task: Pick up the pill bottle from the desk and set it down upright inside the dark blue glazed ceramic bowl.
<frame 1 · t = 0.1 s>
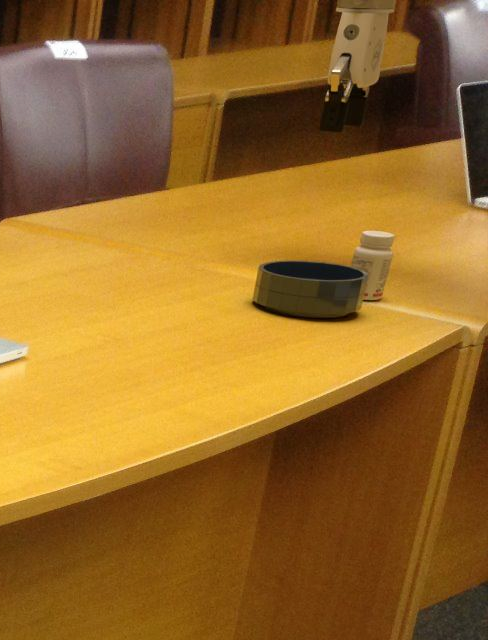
hand: (340, 128, 224), 19 cm above the table, tool pointing down, fingers open, 9 cm apart
bowl: (305, 308, 202), on the table
pill bottle: (361, 297, 209), on the table
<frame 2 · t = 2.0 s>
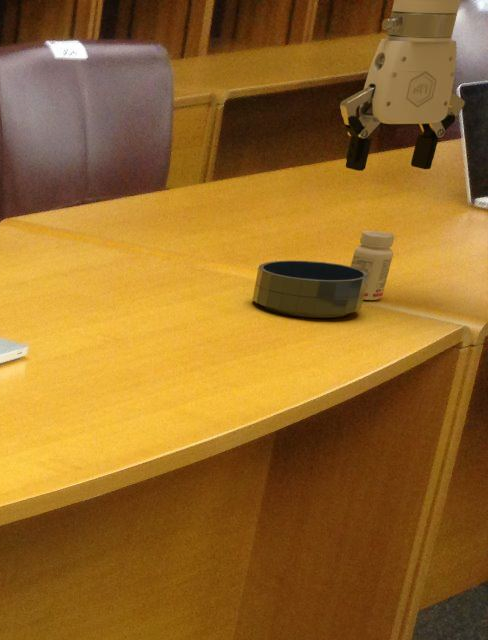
hand: (387, 168, 202), 17 cm above the table, tool pointing down, fingers open, 9 cm apart
nothing on the table moved.
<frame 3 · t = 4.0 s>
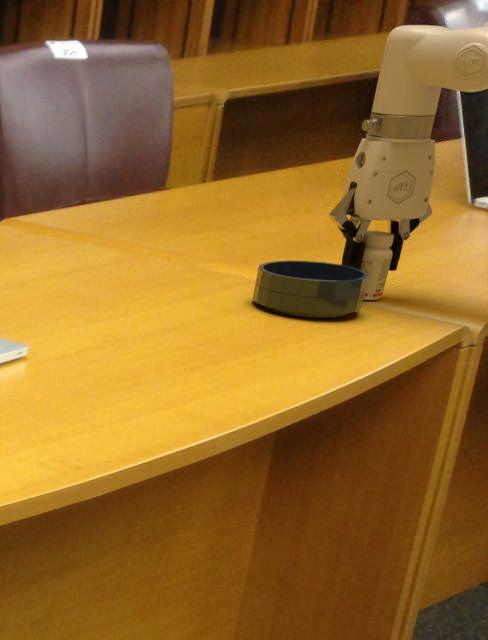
hand: (368, 268, 207), 4 cm above the table, tool pointing down, fingers closed on pill bottle, 4 cm apart
pill bottle: (361, 297, 209), on the table, touching gripper
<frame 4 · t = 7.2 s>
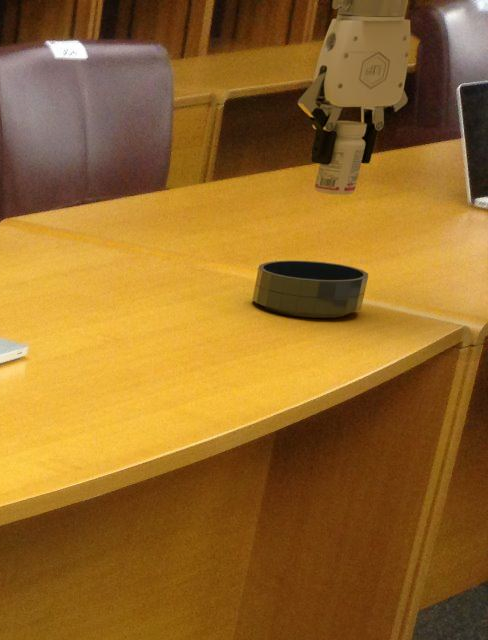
hand: (340, 161, 194), 19 cm above the table, tool pointing down, fingers closed on pill bottle, 4 cm apart
pill bottle: (333, 193, 196), point 15 cm above the table, touching gripper
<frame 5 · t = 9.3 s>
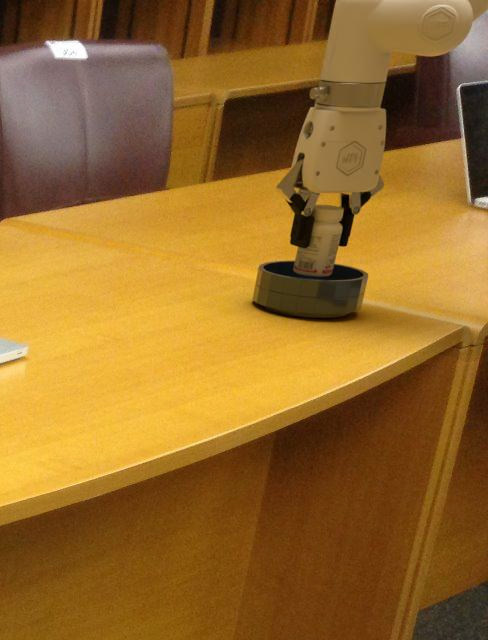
hand: (318, 243, 198), 8 cm above the table, tool pointing down, fingers closed on pill bottle, 4 cm apart
pill bottle: (311, 274, 200), point 4 cm above the table, touching gripper
when the fingers open (5 cm above the table, at t = 10.7 s): pill bottle stays where it is, resting on bowl.
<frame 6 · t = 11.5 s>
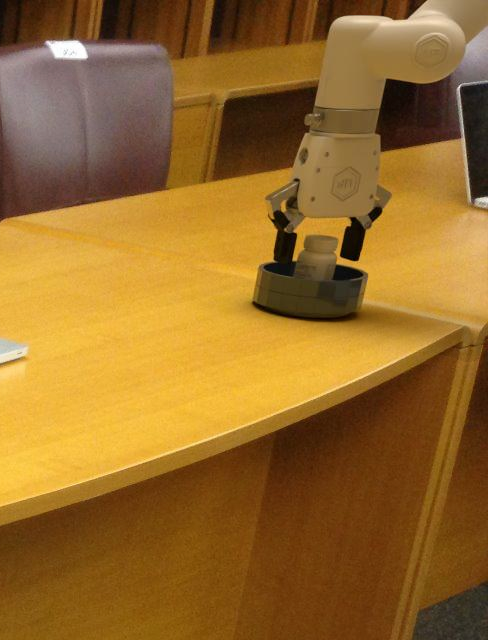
hand: (315, 260, 199), 6 cm above the table, tool pointing down, fingers open, 9 cm apart
pill bottle: (306, 303, 202), point 1 cm above the table, touching bowl
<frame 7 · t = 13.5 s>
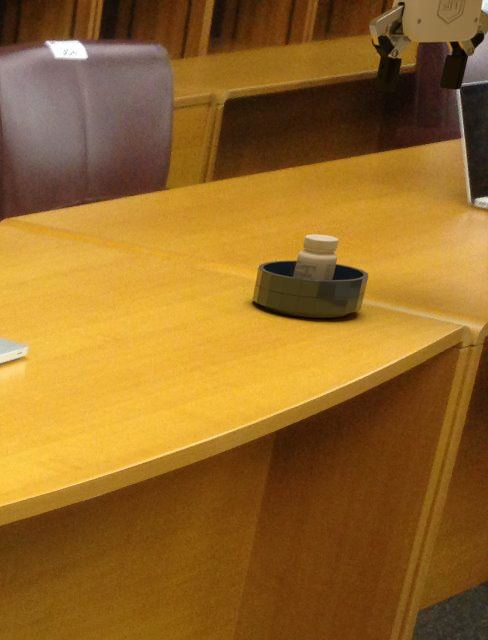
hand: (417, 89, 198), 26 cm above the table, tool pointing down, fingers open, 9 cm apart
nothing on the table moved.
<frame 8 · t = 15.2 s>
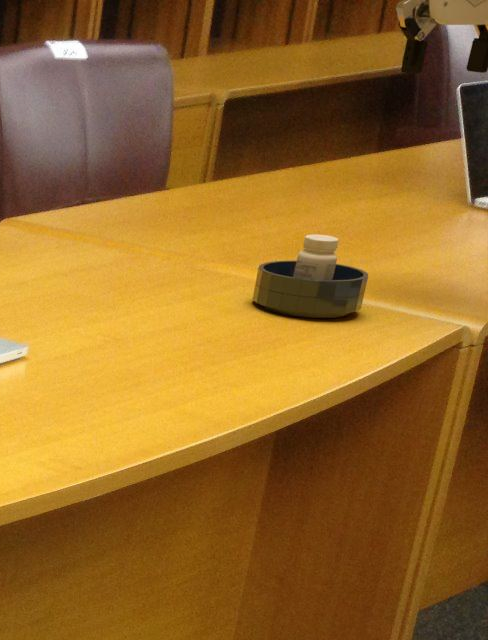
hand: (443, 72, 200), 28 cm above the table, tool pointing down, fingers open, 9 cm apart
nothing on the table moved.
at the end: pill bottle 0.0 cm off-centre in the bowl, point 0.7 cm above the bowl's base; pill bottle tilted 2°; the gripper is holding nothing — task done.
